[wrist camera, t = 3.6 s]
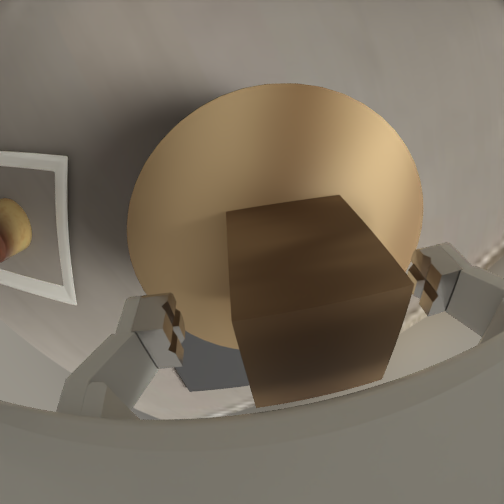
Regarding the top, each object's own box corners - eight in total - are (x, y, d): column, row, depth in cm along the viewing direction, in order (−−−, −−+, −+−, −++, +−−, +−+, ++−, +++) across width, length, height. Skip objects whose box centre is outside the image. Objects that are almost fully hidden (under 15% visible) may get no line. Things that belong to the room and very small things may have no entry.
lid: (416, 84, 8) (540, 117, 3) (391, 311, 15) (436, 395, 10) (97, 122, 8) (-16, 181, 3) (181, 349, 15) (175, 451, 10)
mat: (353, 275, 21) (355, 279, 21) (340, 363, 28) (341, 367, 27) (146, 308, 21) (145, 313, 21) (189, 387, 28) (189, 391, 27)
